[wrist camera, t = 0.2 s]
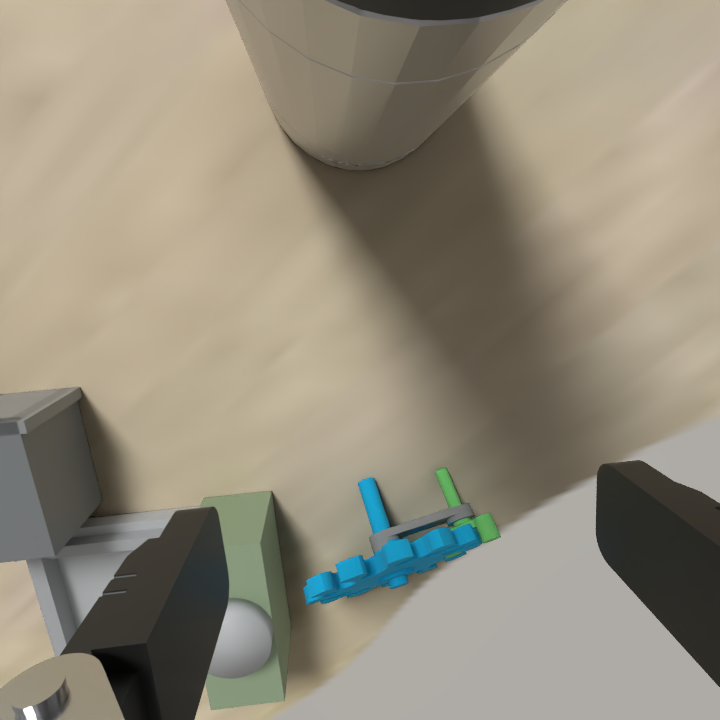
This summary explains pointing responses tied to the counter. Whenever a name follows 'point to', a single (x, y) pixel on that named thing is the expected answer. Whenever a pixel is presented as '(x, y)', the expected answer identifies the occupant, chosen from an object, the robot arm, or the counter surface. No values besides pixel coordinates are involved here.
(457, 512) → the gear
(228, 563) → the drawer with ball knob
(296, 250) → the counter surface
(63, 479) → the grey lidded bin
